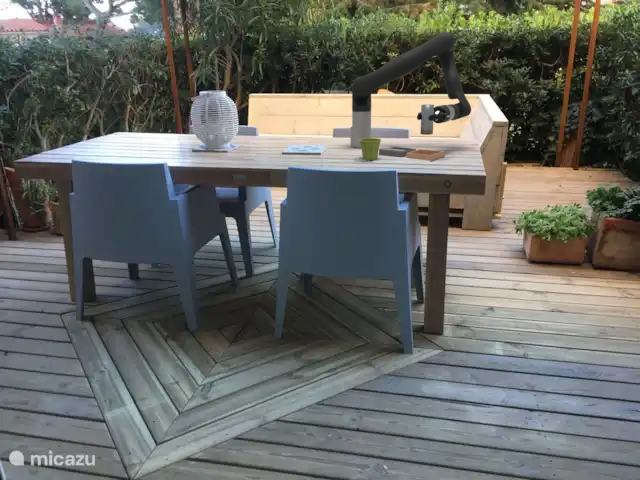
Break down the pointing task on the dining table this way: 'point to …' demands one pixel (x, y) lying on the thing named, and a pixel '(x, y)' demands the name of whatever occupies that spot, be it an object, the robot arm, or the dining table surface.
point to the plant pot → (370, 148)
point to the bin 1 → (395, 151)
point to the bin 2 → (426, 154)
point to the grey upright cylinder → (426, 119)
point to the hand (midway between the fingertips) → (424, 117)
